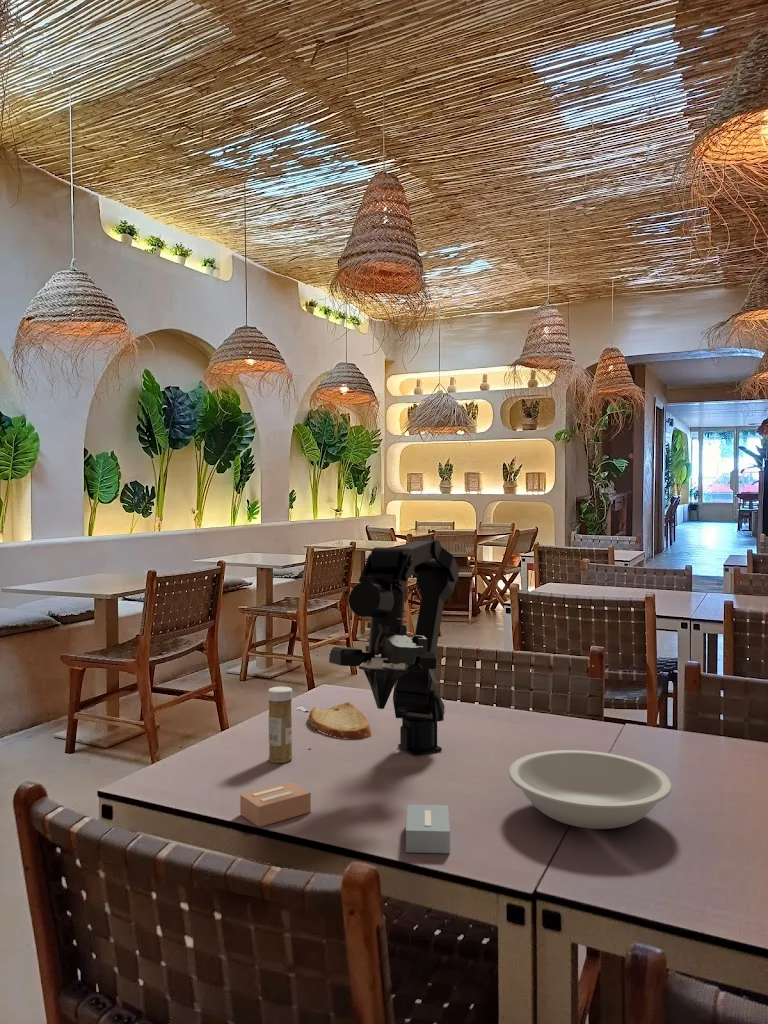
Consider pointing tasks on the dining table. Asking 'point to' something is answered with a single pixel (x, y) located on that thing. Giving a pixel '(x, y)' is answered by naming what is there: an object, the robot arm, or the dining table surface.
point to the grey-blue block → (427, 829)
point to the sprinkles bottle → (280, 724)
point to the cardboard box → (275, 803)
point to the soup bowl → (590, 787)
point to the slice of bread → (340, 721)
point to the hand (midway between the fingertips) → (380, 708)
